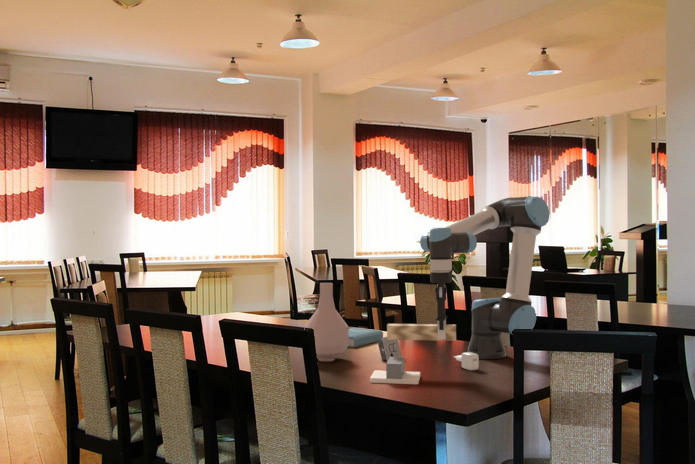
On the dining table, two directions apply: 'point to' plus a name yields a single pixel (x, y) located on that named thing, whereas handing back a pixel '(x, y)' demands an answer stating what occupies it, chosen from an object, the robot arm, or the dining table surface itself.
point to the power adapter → (468, 360)
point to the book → (363, 336)
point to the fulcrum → (395, 373)
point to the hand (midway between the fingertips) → (441, 337)
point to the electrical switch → (389, 348)
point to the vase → (328, 326)
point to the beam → (419, 332)
